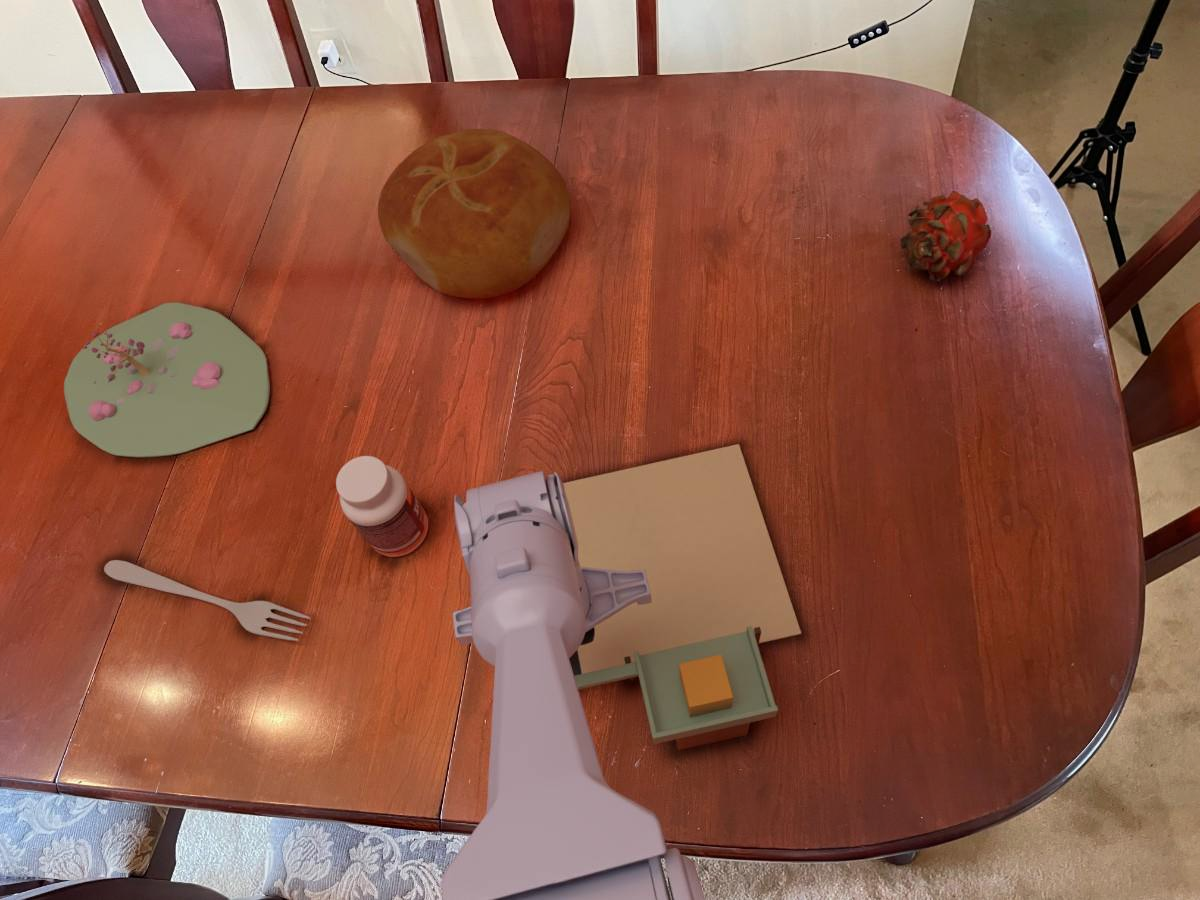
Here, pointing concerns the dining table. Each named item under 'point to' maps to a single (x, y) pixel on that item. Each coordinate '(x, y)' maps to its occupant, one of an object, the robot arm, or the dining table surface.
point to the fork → (209, 599)
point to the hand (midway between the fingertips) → (567, 640)
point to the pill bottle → (381, 506)
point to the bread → (475, 212)
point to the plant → (167, 383)
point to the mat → (680, 555)
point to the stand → (717, 734)
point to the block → (705, 685)
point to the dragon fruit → (946, 235)
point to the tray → (667, 690)
